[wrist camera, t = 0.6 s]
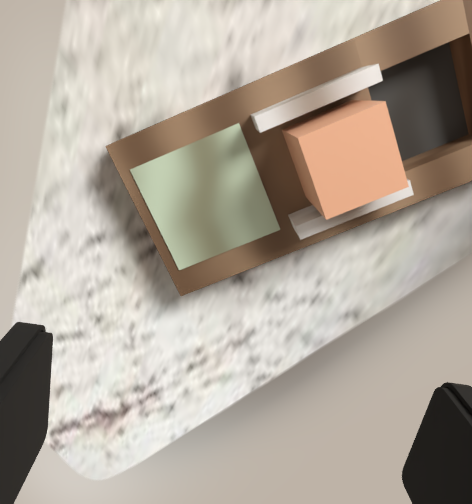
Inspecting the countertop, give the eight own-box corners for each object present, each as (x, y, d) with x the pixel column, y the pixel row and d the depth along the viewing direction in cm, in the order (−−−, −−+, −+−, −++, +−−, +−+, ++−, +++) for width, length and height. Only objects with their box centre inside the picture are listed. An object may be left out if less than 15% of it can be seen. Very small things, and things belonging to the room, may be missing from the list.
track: (458, -8, 30) (515, -32, 24) (492, 157, 34) (547, 169, 28) (114, 141, 32) (94, 151, 27) (183, 280, 36) (177, 314, 31)
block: (352, 100, 29) (385, 101, 24) (373, 170, 31) (408, 186, 25) (281, 129, 30) (297, 137, 24) (305, 197, 31) (326, 219, 26)
